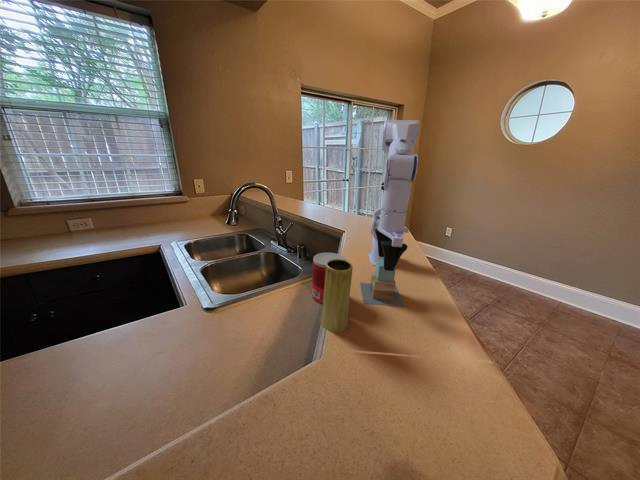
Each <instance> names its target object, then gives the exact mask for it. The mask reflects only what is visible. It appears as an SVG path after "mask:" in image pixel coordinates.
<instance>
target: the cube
mask: <svg viewBox="0 0 640 480" xmlns="http://www.w3.org/2000/svg"><path fill="white" fill-rule="evenodd" d="M396 270H397V266H396V267H395V269H394V271H387V270H385V269H384V259H377V262H376V265H375V271H374V272H375V274H376V277H377V280H378V281H392V282H394V280H395V275H396Z"/></svg>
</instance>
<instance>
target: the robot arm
mask: <svg viewBox="0 0 640 480" xmlns="http://www.w3.org/2000/svg"><path fill="white" fill-rule="evenodd" d="M420 127H421V122H420V120H419V119H416V120H415V119H413V120H411V119H409V120H408V119H407V120H406V119H405V120H403V119H389V118H386V119H385V121H384V124H383V131H382V138H381V139H382V140H381V141H382V145H381V148H382V152H384V153H386V154H387V156H386V159H385V164H384V165H385V166H384V172H383V181H384V182H383V192H382V201H381V206H380V207H379V208H376V210H374V212H373V213H372V218H371V226H370V234H371V236H373V237H372V241H371V249H370V252H368V253H367V255H368V259H369V262H370V265H371V266H376V262H377V259H384V269H385V270H387V271H394V269H395V267H396V268H397V264H398V262H399V260H400V259H401V257H402V255H403V254H404V253H405V252H406V251H407V249H408V245H407V243H404V238H403V236H404V234H406V233H408V234H409V232H410V229H409V228H408V227H406V226H405V224H406V219H407V218H406V217H407V212H408V207H409V203H410V196H411V190H412V184H413V183H414V182H415V179H416V177H417V172H418V167H419V155H418V154H415V153H414V152H415V147H416V144H417V142H418V139H419V134H420Z"/></svg>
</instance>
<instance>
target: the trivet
mask: <svg viewBox="0 0 640 480" xmlns="http://www.w3.org/2000/svg"><path fill="white" fill-rule="evenodd" d="M370 284H371V282H369V283H366V282H359V286H360V291H361V296H362V301H363V304H364V305H374V306H375V305H376V306H390V307H403V308H404V307H406V305H405V303H404V301H403V299H402V296H401V294H400V291H399V290H398V287H397V285H396V284H395V289H394V295H393V300H386V299H373V298H372V294H371V290H370Z"/></svg>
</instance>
